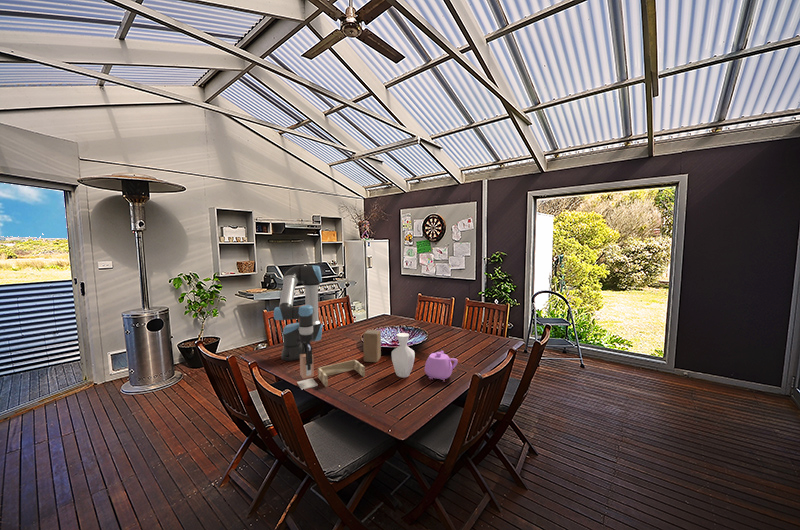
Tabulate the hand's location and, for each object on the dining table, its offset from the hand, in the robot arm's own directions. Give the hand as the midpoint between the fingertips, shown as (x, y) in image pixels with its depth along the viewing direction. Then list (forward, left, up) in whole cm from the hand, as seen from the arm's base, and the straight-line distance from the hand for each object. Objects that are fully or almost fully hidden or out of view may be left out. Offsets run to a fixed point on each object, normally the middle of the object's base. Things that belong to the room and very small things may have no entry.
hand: (307, 372), depth 170 cm
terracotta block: (0, 0, -1) cm, 1 cm away
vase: (+19, +53, -7) cm, 57 cm away
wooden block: (-12, +48, -7) cm, 50 cm away
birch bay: (+2, +20, -7) cm, 21 cm away
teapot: (+33, +72, -7) cm, 79 cm away
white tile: (0, 0, -7) cm, 7 cm away
